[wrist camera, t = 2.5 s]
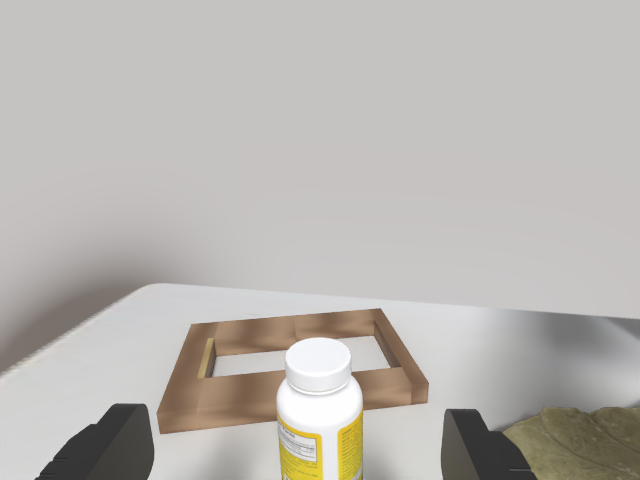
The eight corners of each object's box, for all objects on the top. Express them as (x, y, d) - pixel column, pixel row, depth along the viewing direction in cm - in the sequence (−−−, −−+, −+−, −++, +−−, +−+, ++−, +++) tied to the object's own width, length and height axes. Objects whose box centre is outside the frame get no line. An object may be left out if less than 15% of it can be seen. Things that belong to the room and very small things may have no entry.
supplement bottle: (351, 443, 28) (352, 327, 25) (372, 513, 23) (375, 377, 20) (279, 454, 27) (271, 335, 25) (284, 529, 22) (275, 389, 19)
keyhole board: (380, 323, 45) (380, 306, 45) (427, 402, 32) (428, 380, 31) (193, 339, 43) (191, 322, 42) (160, 434, 29) (156, 410, 29)
